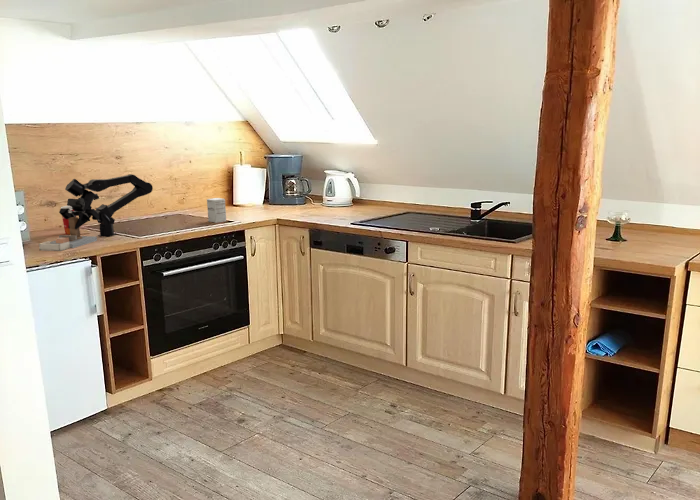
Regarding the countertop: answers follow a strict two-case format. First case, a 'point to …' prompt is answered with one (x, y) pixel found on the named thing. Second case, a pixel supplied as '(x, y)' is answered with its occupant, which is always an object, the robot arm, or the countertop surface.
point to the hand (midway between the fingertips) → (72, 228)
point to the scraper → (73, 230)
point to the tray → (53, 246)
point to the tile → (62, 240)
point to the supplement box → (216, 210)
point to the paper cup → (66, 221)
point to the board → (79, 241)
